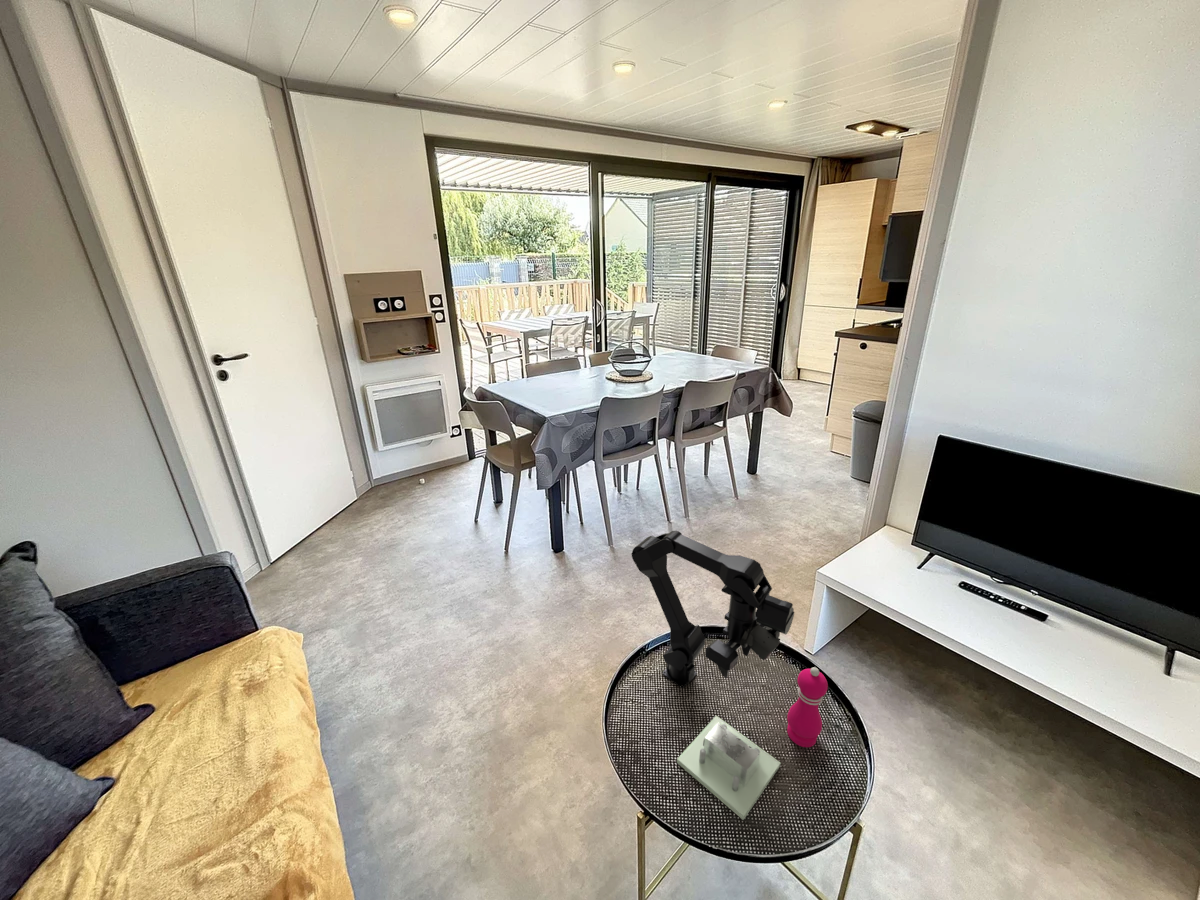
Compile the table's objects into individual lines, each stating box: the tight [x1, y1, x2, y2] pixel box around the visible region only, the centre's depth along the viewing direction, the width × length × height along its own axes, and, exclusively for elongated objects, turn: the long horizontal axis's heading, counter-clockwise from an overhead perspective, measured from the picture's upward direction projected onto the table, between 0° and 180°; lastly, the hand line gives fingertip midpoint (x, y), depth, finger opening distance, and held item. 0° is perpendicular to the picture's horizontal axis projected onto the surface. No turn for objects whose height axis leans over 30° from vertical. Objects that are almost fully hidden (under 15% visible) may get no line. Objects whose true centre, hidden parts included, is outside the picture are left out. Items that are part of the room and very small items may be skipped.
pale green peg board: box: [676, 715, 781, 821], centre depth 102 cm, size 16×15×4 cm
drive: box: [703, 723, 760, 787], centre depth 102 cm, size 10×5×5 cm, turn 44°
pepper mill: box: [786, 666, 829, 748], centre depth 105 cm, size 7×7×20 cm
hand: (735, 665), depth 113 cm, fingers open, 9 cm apart
